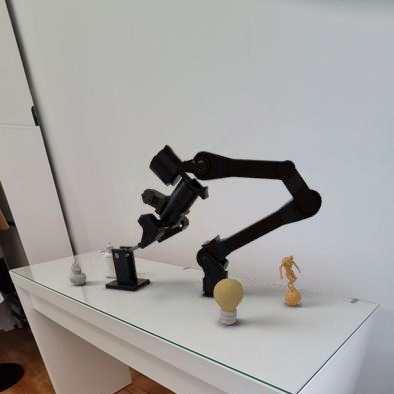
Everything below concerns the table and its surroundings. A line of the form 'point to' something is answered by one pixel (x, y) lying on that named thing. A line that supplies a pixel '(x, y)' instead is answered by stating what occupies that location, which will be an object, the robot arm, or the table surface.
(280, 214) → the robot arm
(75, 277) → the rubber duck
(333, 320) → the table surface
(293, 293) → the figurine
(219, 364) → the table surface
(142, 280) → the bracket
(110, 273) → the eye dropper bottle
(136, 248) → the lever
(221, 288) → the light bulb
